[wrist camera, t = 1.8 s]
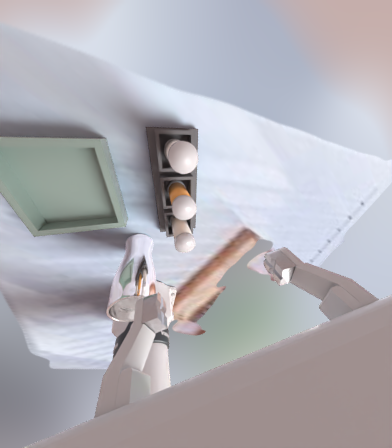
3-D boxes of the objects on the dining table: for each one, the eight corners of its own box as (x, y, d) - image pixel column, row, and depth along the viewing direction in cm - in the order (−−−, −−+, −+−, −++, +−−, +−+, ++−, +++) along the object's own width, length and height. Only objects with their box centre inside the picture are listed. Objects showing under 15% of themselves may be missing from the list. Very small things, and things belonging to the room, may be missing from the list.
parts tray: (128, 218, 29) (125, 226, 26) (45, 226, 25) (34, 236, 23) (106, 138, 21) (100, 139, 19) (-16, 135, 18) (-42, 136, 15)
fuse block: (194, 225, 34) (198, 234, 31) (160, 229, 32) (160, 239, 29) (196, 129, 23) (202, 128, 20) (146, 127, 22) (145, 126, 19)
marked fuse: (185, 196, 28) (196, 218, 21) (167, 197, 27) (173, 221, 20) (184, 179, 26) (197, 197, 19) (166, 180, 25) (171, 199, 18)
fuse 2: (185, 223, 32) (195, 251, 24) (170, 225, 31) (175, 254, 24) (185, 210, 30) (195, 235, 22) (169, 211, 29) (174, 238, 22)
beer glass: (133, 259, 34) (123, 327, 22) (116, 239, 30) (92, 310, 18) (160, 248, 35) (164, 310, 23) (146, 227, 31) (142, 289, 19)
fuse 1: (184, 161, 25) (197, 173, 17) (164, 161, 24) (170, 174, 16) (184, 138, 23) (198, 141, 15) (162, 138, 22) (167, 141, 15)
